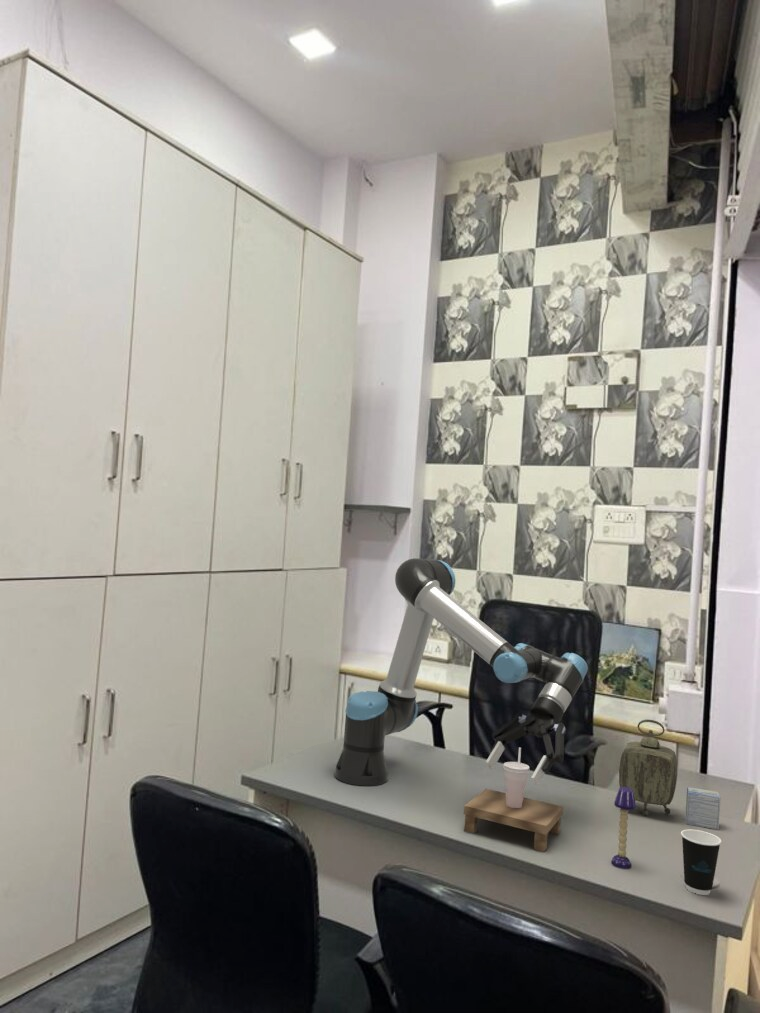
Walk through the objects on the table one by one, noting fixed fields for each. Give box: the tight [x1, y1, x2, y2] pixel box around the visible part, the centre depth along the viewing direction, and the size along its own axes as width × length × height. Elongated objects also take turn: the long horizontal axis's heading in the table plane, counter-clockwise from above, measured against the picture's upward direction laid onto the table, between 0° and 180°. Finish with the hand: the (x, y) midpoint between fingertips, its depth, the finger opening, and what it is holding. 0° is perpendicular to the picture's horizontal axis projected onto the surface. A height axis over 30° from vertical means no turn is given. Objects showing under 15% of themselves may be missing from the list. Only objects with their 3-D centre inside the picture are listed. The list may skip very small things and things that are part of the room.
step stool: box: [463, 788, 564, 853], centre depth 181 cm, size 20×16×6 cm
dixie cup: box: [680, 828, 723, 896], centre depth 157 cm, size 8×8×11 cm
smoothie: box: [502, 747, 530, 808], centre depth 182 cm, size 6×6×14 cm
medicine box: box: [685, 786, 721, 830], centre depth 197 cm, size 8×4×9 cm, turn 71°
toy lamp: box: [610, 786, 637, 869], centre depth 167 cm, size 5×5×17 cm
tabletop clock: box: [618, 719, 678, 817], centre depth 202 cm, size 14×9×25 cm, turn 65°
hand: (511, 773), depth 180 cm, fingers open, 13 cm apart
